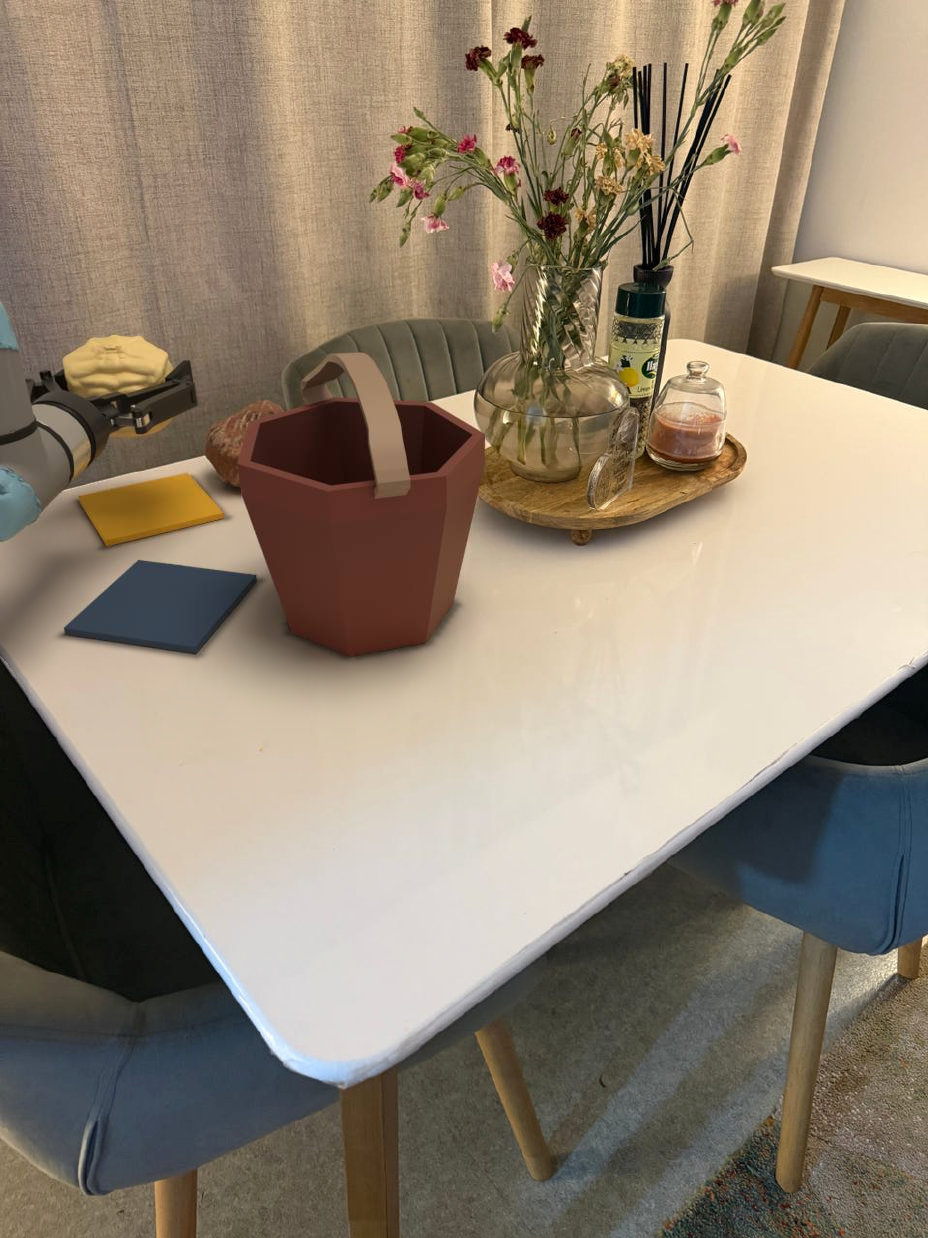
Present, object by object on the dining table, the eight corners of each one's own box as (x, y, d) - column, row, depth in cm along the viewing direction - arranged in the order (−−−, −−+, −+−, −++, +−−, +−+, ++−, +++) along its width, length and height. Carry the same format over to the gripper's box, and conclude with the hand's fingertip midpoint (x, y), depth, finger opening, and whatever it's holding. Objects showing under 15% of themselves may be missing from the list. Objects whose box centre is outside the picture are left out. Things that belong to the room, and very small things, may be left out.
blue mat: (65, 634, 87) (63, 627, 87) (139, 565, 98) (138, 559, 98) (196, 653, 84) (195, 647, 84) (257, 581, 96) (256, 574, 95)
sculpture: (71, 450, 98) (47, 352, 92) (93, 412, 108) (72, 322, 102) (178, 444, 99) (161, 348, 93) (189, 408, 109) (174, 318, 103)
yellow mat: (106, 546, 102) (105, 540, 102) (79, 501, 112) (77, 495, 111) (224, 518, 108) (223, 512, 108) (188, 477, 118) (187, 472, 118)
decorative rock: (264, 452, 125) (255, 383, 120) (322, 472, 120) (316, 400, 115) (191, 484, 116) (178, 410, 111) (250, 506, 111) (240, 430, 106)
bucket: (276, 554, 101) (248, 331, 87) (469, 546, 103) (471, 327, 89) (255, 684, 80) (215, 420, 67) (496, 671, 82) (505, 412, 69)
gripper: (-55, 473, 88) (43, 399, 106) (183, 479, 87) (242, 404, 105) (-80, 399, 84) (27, 335, 102) (170, 405, 83) (233, 340, 101)
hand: (136, 370), depth 103 cm, fingers closed on sculpture, 12 cm apart
